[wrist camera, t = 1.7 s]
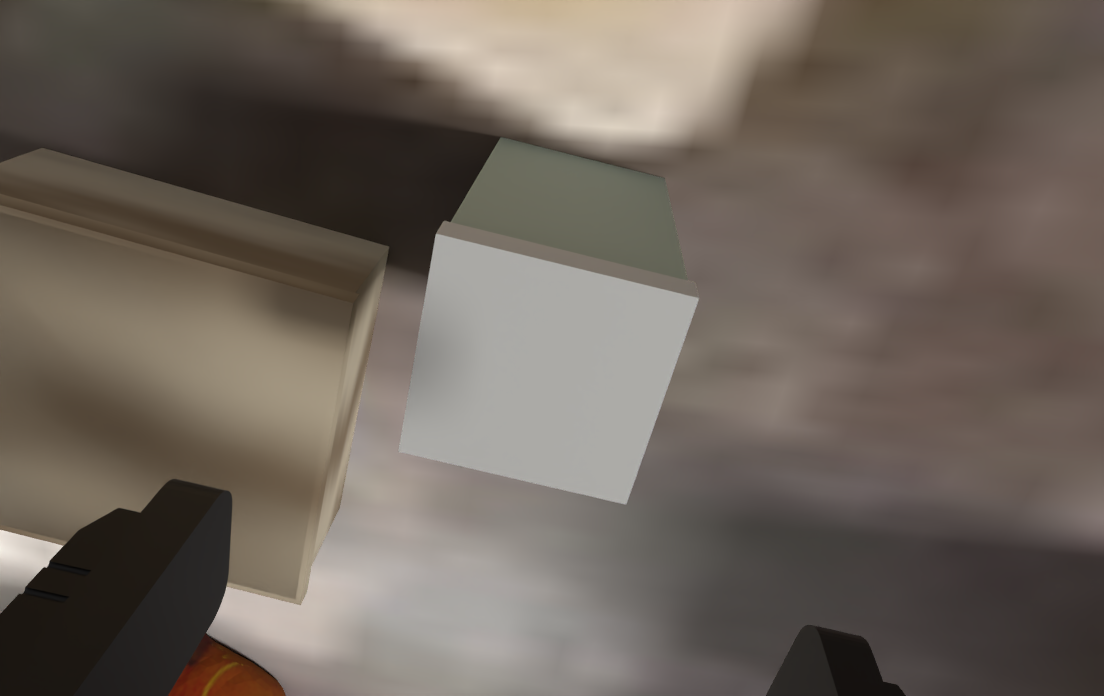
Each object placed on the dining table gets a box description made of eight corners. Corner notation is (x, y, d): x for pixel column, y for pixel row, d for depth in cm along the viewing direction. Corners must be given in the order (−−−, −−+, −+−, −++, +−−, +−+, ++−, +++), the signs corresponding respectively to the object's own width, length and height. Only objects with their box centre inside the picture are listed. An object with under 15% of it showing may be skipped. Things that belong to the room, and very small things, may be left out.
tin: (498, 132, 23) (435, 233, 15) (668, 175, 23) (699, 297, 15) (466, 290, 25) (398, 451, 17) (621, 328, 26) (626, 504, 17)
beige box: (41, 137, 24) (-87, 180, 20) (398, 239, 25) (353, 303, 21) (50, 430, 29) (-49, 517, 25) (346, 508, 30) (300, 605, 26)
